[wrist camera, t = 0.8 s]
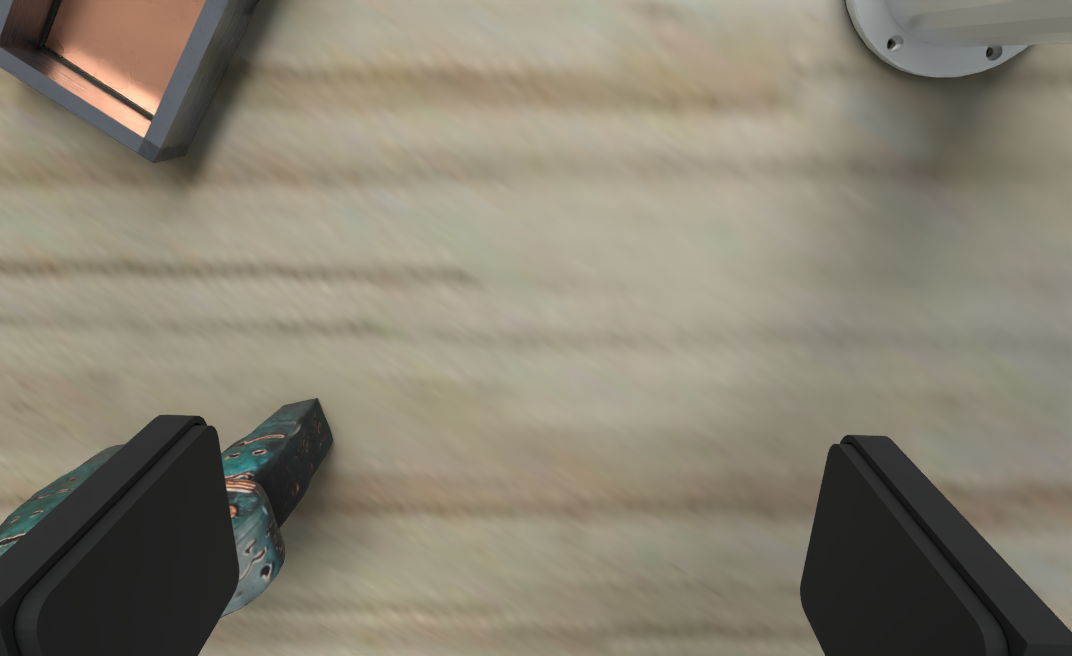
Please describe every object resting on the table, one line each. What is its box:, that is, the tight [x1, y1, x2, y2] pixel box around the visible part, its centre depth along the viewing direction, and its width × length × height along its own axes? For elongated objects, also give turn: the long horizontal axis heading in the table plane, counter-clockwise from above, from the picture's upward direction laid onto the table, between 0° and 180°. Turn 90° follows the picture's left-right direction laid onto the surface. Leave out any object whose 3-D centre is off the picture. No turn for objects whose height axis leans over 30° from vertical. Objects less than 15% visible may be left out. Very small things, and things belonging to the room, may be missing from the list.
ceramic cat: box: [0, 398, 333, 618], centre depth 40 cm, size 20×6×20 cm, turn 104°
